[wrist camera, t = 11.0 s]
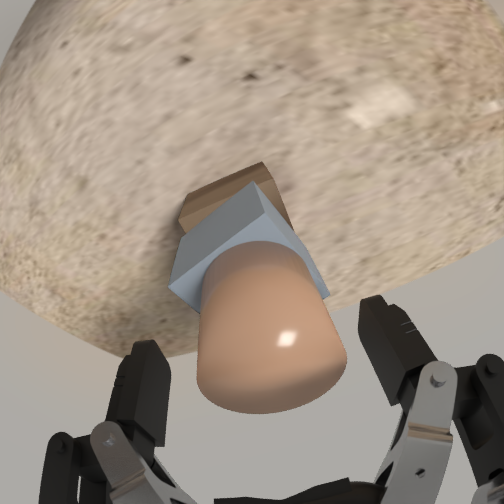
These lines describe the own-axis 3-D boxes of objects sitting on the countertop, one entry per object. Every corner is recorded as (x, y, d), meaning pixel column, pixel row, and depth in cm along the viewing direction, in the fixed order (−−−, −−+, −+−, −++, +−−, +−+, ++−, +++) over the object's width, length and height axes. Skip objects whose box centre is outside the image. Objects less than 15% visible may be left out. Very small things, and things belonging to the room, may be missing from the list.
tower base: (187, 194, 21) (177, 220, 16) (262, 161, 20) (273, 178, 16) (221, 257, 23) (221, 294, 19) (289, 229, 23) (305, 261, 18)
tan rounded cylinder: (189, 252, 12) (175, 342, 7) (307, 231, 12) (353, 309, 7) (215, 335, 14) (217, 420, 10) (311, 318, 14) (340, 398, 10)
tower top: (181, 238, 17) (167, 286, 12) (253, 180, 16) (264, 212, 11) (238, 293, 19) (243, 348, 15) (305, 246, 18) (330, 294, 14)
